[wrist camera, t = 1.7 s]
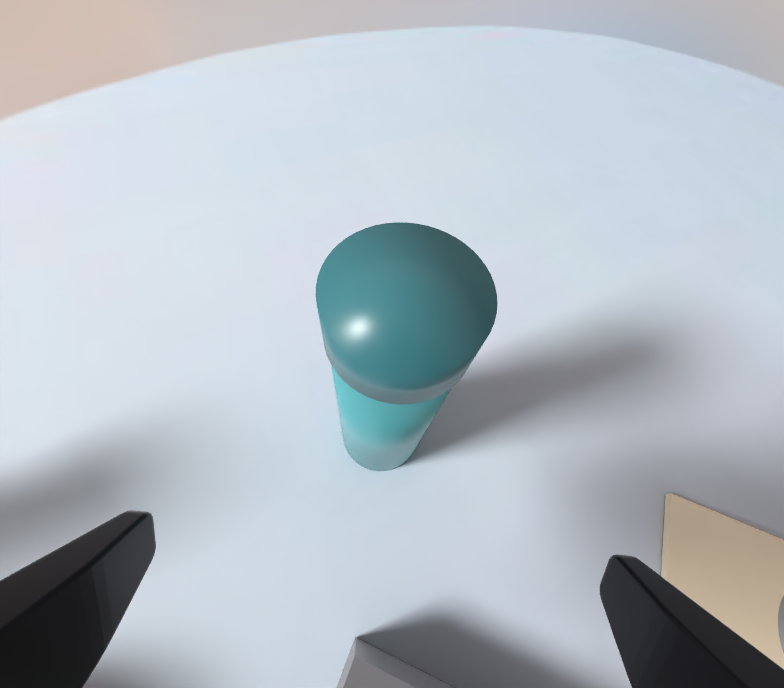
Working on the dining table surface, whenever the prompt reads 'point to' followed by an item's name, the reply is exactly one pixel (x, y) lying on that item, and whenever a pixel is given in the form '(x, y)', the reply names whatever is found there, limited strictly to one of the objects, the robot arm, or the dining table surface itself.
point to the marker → (399, 332)
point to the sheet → (727, 571)
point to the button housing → (382, 671)
